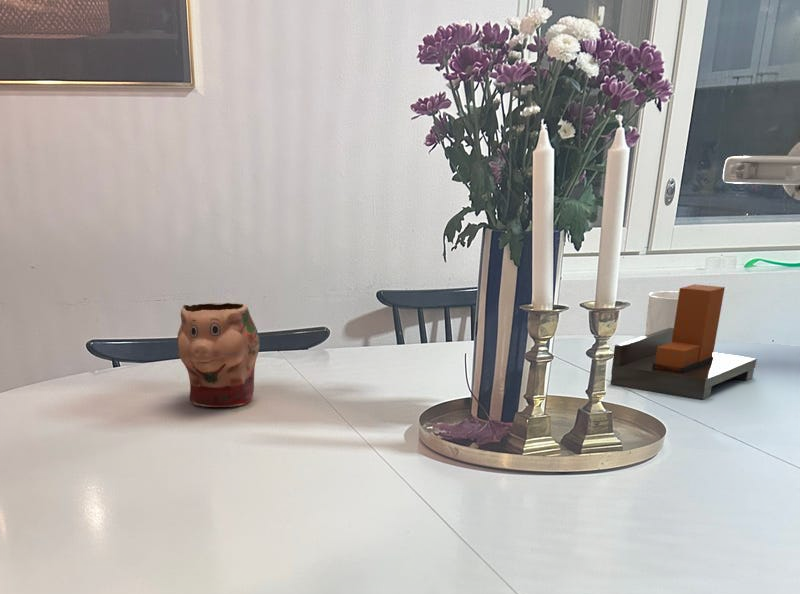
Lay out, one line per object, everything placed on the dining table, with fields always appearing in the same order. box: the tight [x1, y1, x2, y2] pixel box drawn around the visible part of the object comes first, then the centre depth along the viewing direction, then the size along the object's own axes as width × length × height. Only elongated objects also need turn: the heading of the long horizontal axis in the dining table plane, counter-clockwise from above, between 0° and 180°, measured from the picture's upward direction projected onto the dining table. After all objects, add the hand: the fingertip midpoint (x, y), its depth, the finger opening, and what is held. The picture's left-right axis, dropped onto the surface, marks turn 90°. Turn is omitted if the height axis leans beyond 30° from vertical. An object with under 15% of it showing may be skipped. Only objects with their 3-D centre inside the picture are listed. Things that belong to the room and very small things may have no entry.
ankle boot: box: [652, 283, 726, 373], centre depth 141 cm, size 5×10×11 cm, turn 135°
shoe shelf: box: [610, 328, 757, 400], centre depth 146 cm, size 15×18×6 cm
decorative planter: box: [176, 302, 260, 408], centre depth 141 cm, size 20×12×14 cm, turn 179°
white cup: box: [644, 291, 679, 336], centre depth 162 cm, size 8×8×10 cm
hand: (760, 172), depth 138 cm, fingers open, 8 cm apart
